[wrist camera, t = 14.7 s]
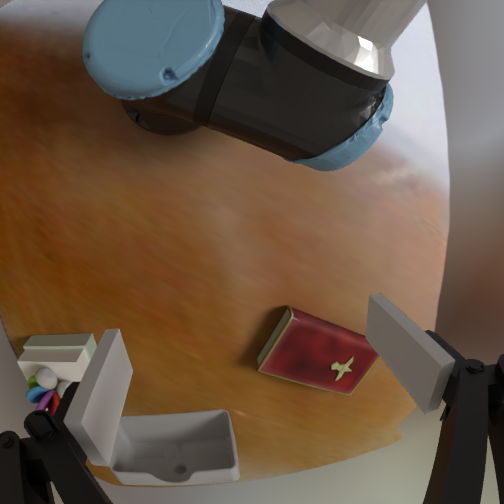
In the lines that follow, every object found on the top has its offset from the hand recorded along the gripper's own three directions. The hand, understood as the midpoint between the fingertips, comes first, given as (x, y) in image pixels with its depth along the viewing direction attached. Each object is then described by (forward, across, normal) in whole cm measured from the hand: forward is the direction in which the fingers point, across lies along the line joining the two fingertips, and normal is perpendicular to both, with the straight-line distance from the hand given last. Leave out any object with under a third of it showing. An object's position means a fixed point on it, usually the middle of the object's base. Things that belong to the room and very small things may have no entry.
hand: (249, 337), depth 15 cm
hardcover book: (+32, +14, -26) cm, 44 cm away
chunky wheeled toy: (+24, -32, -23) cm, 46 cm away
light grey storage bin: (+32, -16, -46) cm, 58 cm away
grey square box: (+32, -32, -24) cm, 51 cm away
